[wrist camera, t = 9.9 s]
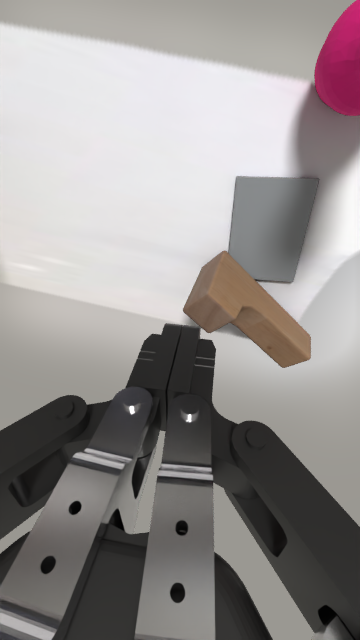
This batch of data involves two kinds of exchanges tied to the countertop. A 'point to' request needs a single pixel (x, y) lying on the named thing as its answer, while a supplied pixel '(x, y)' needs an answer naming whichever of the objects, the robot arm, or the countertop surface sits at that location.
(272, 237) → the grey mat
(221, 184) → the countertop surface
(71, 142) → the countertop surface
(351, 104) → the pepper mill
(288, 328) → the wooden block
